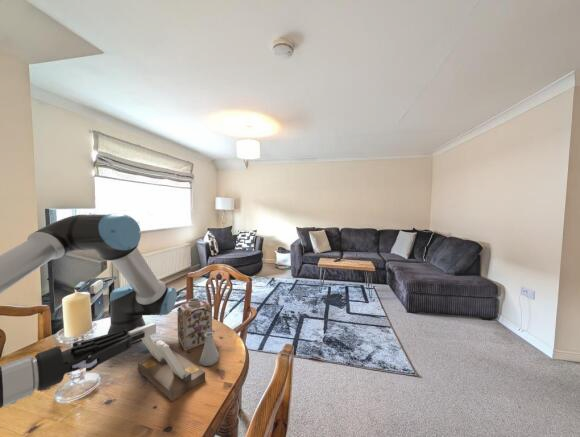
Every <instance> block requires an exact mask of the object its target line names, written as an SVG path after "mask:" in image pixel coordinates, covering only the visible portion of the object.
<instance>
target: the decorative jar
mask: <svg viewBox="0 0 580 437" xmlns="http://www.w3.org/2000/svg"><path fill="white" fill-rule="evenodd" d="M212 311H213V310H212V307H211V305H210V302H208V301H207V300H203V299H200V298H198V297H195V298H190V299H188V301H186V302H184V303H182V304H181V305H180V306H179V307H178V308H177V340H178V341H179V343H180V345H181V347H182V349H183V350H184V351H185V352H186V351H189V350H191V349H194V348H197V347H200V346H203V345H205V337H204V335H205V334H206V333H208V332H213V312H212Z"/></svg>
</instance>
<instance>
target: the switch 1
mask: <svg viewBox="0 0 580 437" xmlns="http://www.w3.org/2000/svg"><path fill="white" fill-rule="evenodd" d="M137 328H140V327H137ZM137 328H136V329H137ZM140 341H142V342H143V344H144V345H145V347H146V348H147V349H148V351H149V353H150V354H151V356H153V357H154V358H155V359H157V360H158V361H159V362H160V361H161V358H163V356H162V354H161V353H160V351H159V350H158V348H157V347H156V346H155V344H156V343H155V342H154V340H153V339H152V337H151V335H150V336H147V337H145V338H142V339H141V340H140Z"/></svg>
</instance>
